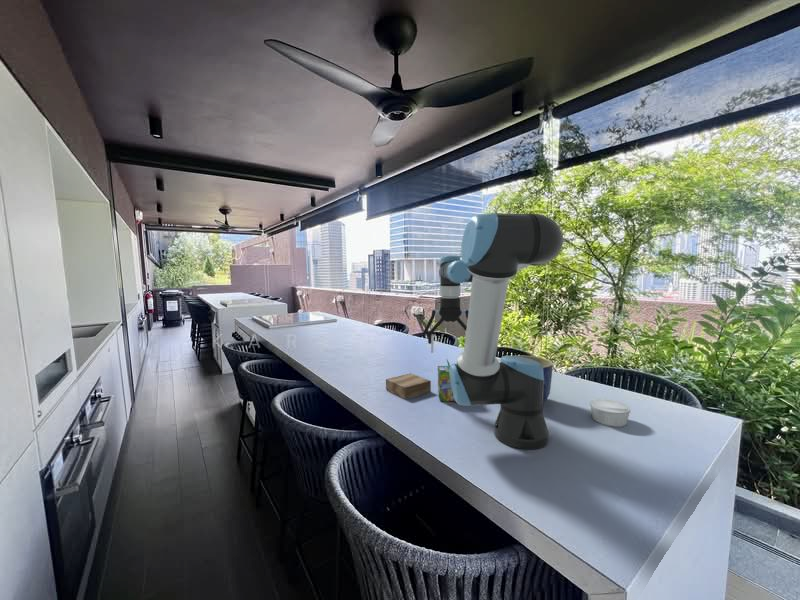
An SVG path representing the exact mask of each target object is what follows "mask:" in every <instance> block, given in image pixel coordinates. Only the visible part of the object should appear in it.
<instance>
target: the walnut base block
mask: <svg viewBox="0 0 800 600" xmlns="http://www.w3.org/2000/svg"><path fill="white" fill-rule="evenodd" d="M431 387H432V381H431V380H430V379H427V378H425V377H421V376H419V375H416V374H413V373H407V374H402V375H398V376H393V377H389V378H386V379H385V390H387V391H386V392H389V393H391V394H393V395H395V396H397V397H399V398H401V399H403V400H408V399H412V398H415V397H419V396H421V395H425V394H429V393H431V391H432V388H431Z"/></svg>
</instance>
